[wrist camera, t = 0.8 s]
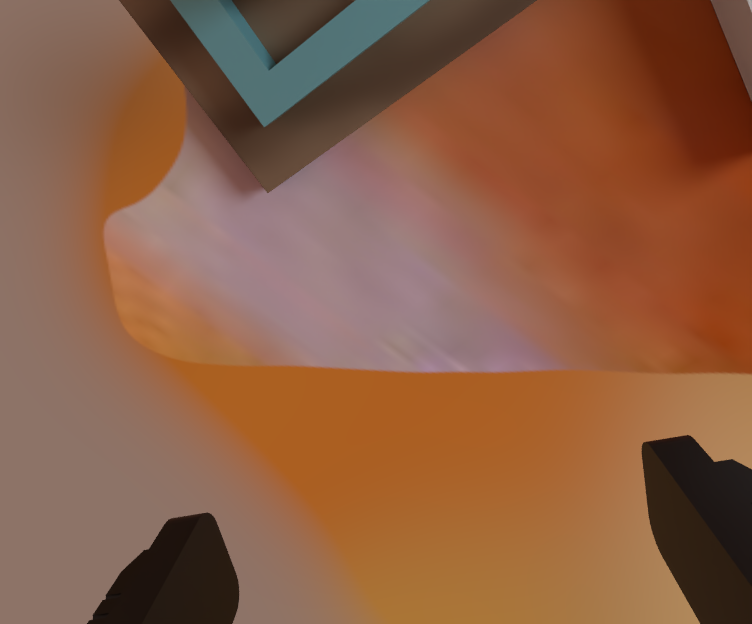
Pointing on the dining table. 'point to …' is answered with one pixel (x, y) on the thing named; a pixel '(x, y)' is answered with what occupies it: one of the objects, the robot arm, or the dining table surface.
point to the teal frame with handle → (302, 66)
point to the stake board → (337, 94)
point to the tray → (738, 34)
